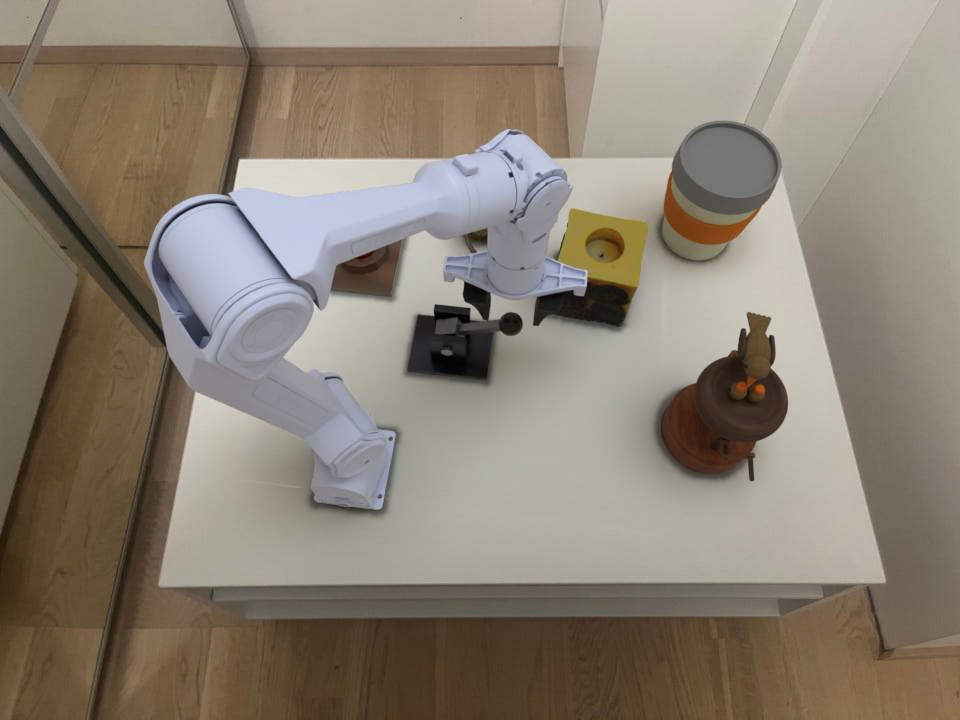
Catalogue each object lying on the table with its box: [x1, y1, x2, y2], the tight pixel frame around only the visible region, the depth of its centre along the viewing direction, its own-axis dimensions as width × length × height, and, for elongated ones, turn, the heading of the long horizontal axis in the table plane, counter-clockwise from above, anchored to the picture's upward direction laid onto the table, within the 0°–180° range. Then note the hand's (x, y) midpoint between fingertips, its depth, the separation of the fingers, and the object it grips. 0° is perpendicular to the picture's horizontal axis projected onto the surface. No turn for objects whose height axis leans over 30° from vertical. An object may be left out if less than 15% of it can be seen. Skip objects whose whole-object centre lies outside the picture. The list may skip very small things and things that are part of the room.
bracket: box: [407, 303, 494, 382], centre depth 82 cm, size 10×8×7 cm
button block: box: [330, 238, 405, 298], centre depth 90 cm, size 12×10×3 cm
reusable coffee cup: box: [661, 120, 783, 261], centre depth 86 cm, size 13×13×15 cm
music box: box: [660, 311, 789, 482], centre depth 71 cm, size 15×11×20 cm
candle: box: [554, 207, 649, 327], centre depth 85 cm, size 10×10×10 cm
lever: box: [435, 311, 524, 337], centre depth 79 cm, size 11×3×3 cm, turn 83°
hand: (511, 315), depth 75 cm, fingers open, 5 cm apart
